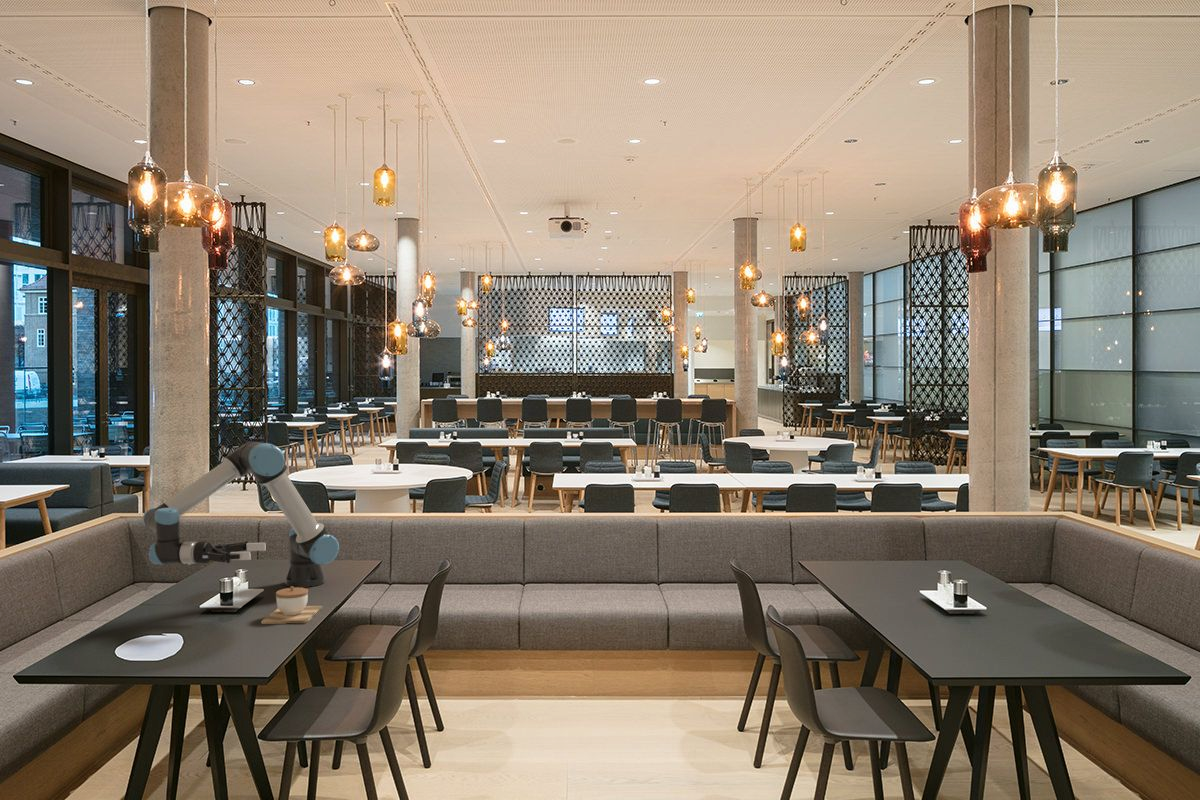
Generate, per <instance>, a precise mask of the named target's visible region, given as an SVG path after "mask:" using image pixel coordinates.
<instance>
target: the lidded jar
mask: <svg viewBox="0 0 1200 800" xmlns="http://www.w3.org/2000/svg"><path fill="white" fill-rule="evenodd" d="M308 594H309V589H308V588H307V587H300V588H299V587H294V586H291V587H287V588H286V587H285V588H282V589H279V590H277V591H276V592H275V599H276V600H275V601H276V606H277V609H278V608H279V610H280V611H281V612H282V613H283V614H284V615H288V616H291V615H298V614H300V613H302V611H303V610H304V609H305V607H306V606H308V605H307V604H308V601H309V595H308Z"/></svg>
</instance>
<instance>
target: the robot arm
mask: <svg viewBox="0 0 1200 800" xmlns="http://www.w3.org/2000/svg"><path fill="white" fill-rule="evenodd" d="M284 455H285V454H284V453H283V451H282V450H281V449H280V448H279V447H277V445H274V444H272V443H270V442H269V443H268V442H259V441H249V442H247V443H245V444H242V445H240V446H239V447H238V448H236V449H234V450H233V451H232V452H231V453H229V454H228V455H227V456H224V457H223V459H222V462H221V463H219V464H218V465H217V466H215V467H214V468H212V469H211V470H210V471H208V472H207V473H205V474H204V475H202V476H201V477H199V478H198V479H196V480H195V481H194V482H192V483H191V484H189V485H187V486H186V487H184V488H183V489H181V490H180V491H179V492H177V493H176V494H175V495H173V496H172V497H170V498H169V499H166V501H164V502H163V503H162V504H160V505H158V506H157V507H154V508H149V509H148V510H146V511H145V512H144V514H143V516H142V524H143V526H145V528H146V529H148V530H150V531H153V532H155V538H156V540H155V542H153V543H152V544H151V545H150V547H149V549H148V550H149V551H148V559H149V561H150V562H151V564H154V565H164V566H165V565H167V566H168V565H183V564H184V565H185V564H187V565H188V566H191V565H192V564H193V565H194V564H208V563H209V562H210V561H211V562H219V563H225V562H226V563H227V564H229V563H231V561H250V560H252V557H251V556H252V555H251V552H257V551H258V552H259V551H260V552H262V551H264V552H266V550H267V549H266V546H267V545H266V542H248V540H245V541H243V542H241V541H240V542H234V543H223V544H222V543H219V544H217V545H214V546H213V545H212V543H211V542H209V541H183V542H182V541H181V530H180V529H181V527H180V526H181V525H180V522H181V521H180V519H181V518H180V517H183V515H185V514H186V513H188V512H189V511H190V510H192V509H194V508H195V507H196V506H197V505H199V504H201V503H202V502H203V501H206V499H207V498H210V497H211V496H212V495H214V493H216V492H217V491H219V490H220V489H222V488H224V487H225V486H226V485H228V484H229V483H230V482H232V481H234V480H235V479H241V478H242V477H244V476H245V475H247V474H250V473H251V474H252V475H253V476H254V478H255V480H256V482H257V483H258V485H260V486H265V488H266V489H267V490H268V492H269V493H270V495H271V496H272V498H273V500H274V501H275V502H276V504H277V506H278V508H279V509H280V511H281V512H282V513H283V515H284V516H285V518H286V519H287V521H288V523H289V524H290V526H291V529H289V534H288V542H289V543H288V545H289V546H288V547H289V567H288V569H287V573H286V577H285V579H284V581H285V586H286V587H288V588H290V587H291V586H294V588H295V587H300V588H311V587H310V586H312V587H316V585H317V586H320V585H323V584H324V583H326V575H325V573H324V570H323V567H322V565H328V564H330V563H331V562H333V561H335V559H336V558H337V556H338V554H339V550H340V544H339V541H338V539H337V538H336V537H335V536H334V535H331V534H330V533H329V531H328V529H327V528H326V526H325V525H324V523H321V522H318V521H317V520H316V518H315V517H314V515H313V514H312V512H311V510H310V509H309V507H308V506H307V504H306V503H305V501H304V499H303V498H302V496H301V494H300V493H299V491H298V489H297V488H296V486H295V485H294V483H293V481H292V480H291V479H290V477H289V475H288V474H287V472H288V466H287V464H286V463H285V456H284ZM322 583H323V584H322Z"/></svg>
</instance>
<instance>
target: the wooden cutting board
mask: <svg viewBox="0 0 1200 800" xmlns="http://www.w3.org/2000/svg"><path fill="white" fill-rule="evenodd" d="M320 609H321V610H323V605H306V607H305V609H304V610H303V611H302V613H300V614H298V615H291V616H288V615H284V614H283V613H282V612H281V611H280V610H279V608H278V607H277V608H276V609H275V610H273V612H271V613H269V614H268V615H267V616H266V617H264V618H263V619H262V620H261V624H262V625H268V624H269V625H270V624H271V625H276V624H277V625H278V624H279V625H282V624H283V625H285V624H286V623H306V622H307V621H308V622H310V620H311V619H313V618H314V617H315V616H316V615H317V614H318V613H319V612H320V611H321V610H320ZM319 610H320V611H319ZM318 611H319V612H318ZM317 612H318V613H317ZM316 613H317V614H316ZM315 614H316V615H315ZM314 615H315V616H314ZM313 616H314V617H313ZM308 622H307V623H308ZM307 623H306V624H307Z"/></svg>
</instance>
